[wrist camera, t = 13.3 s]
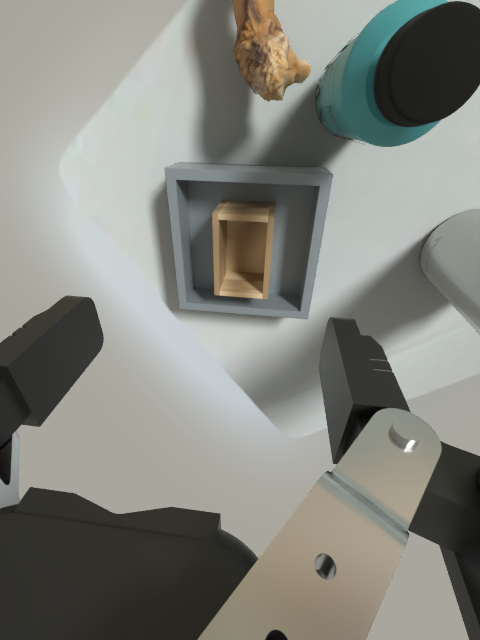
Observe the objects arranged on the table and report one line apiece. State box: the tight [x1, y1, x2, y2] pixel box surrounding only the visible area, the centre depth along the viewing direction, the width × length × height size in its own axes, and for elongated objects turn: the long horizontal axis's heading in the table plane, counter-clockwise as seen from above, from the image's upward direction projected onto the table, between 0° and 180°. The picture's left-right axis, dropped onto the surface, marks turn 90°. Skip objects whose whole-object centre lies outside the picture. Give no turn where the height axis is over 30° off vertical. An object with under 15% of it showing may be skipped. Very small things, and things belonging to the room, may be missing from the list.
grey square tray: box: [165, 162, 333, 319], centre depth 35 cm, size 16×16×5 cm
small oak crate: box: [212, 200, 276, 299], centre depth 34 cm, size 6×9×6 cm, turn 178°
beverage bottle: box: [315, 0, 480, 147], centre depth 20 cm, size 6×7×20 cm
